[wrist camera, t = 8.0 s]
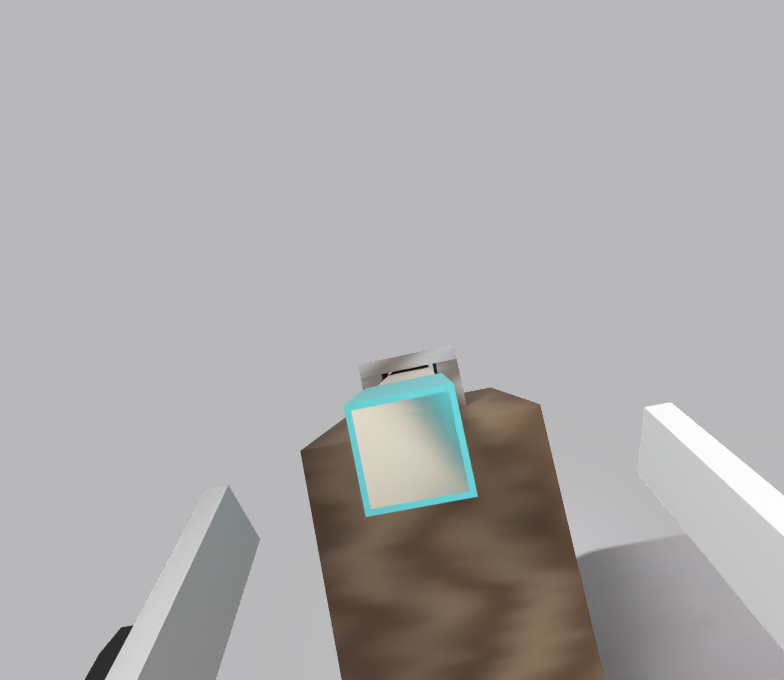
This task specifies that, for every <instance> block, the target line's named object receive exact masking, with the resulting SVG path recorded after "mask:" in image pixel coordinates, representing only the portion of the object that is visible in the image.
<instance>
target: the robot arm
mask: <svg viewBox="0 0 784 680" xmlns="http://www.w3.org/2000/svg"><path fill="white" fill-rule="evenodd" d="M637 474H638V475H639V477H640V478H641V479H642V480H643V481H644V483H645V484H646V485H647V486H648V487H649V489H650V490H651V491H652V492H653V493H654V495H655V496H656V497H657V498H658V499H659V501H660V502H661V503H662V504H663V506H664V507H665V508H666V509H667V510H668V512H669V513H670V514H671V515H672V516H673V518H674V519H675V520H676V521H677V522H678V524H679V525H680V526H681V527H682V529H683V530H684V531H685V532H686V533H687V535H688V536H689V537H690V538H691V539H692V541H693V542H694V543H695V544H696V546H697V547H698V548H699V549H700V550H701V552H702V553H703V554H704V555H705V556H706V558H707V559H708V560H709V561H710V562H711V564H712V565H713V566H714V567H715V569H716V570H717V571H718V572H719V573H720V575H721V576H722V577H723V578H724V579H725V581H726V582H727V583H728V584H729V585H730V587H731V588H732V589H733V590H734V592H735V593H736V594H737V595H738V596H739V598H740V599H741V600H742V601H743V602H744V604H745V605H746V606H747V607H748V608H749V610H750V611H751V612H752V613H753V614H754V616H755V617H756V618H757V619H758V621H759V622H760V623H761V624H762V625H763V627H764V628H765V629H766V630H767V631H768V633H769V634H770V635H771V636H772V637H773V639H774V640H775V641H776V642H777V644H778V645H779V646H780V647H781V648H782V650H783V651H784V496H783V495H782V494H781V493H780V492H779V491H778V490H776V489H775V488H774V487H773V486H772V485H770V484H769V483H768V482H766V481H765V480H764V479H763V478H762V477H761V476H759V475H758V474H757V473H756V472H754V471H753V470H752V469H751V468H750V467H748V466H747V465H746V464H745V463H744V462H742V461H741V460H740V459H739V458H738V457H736V456H735V455H734V454H733V453H732V452H730V451H729V450H728V449H727V448H725V447H724V446H723V445H722V444H721V443H719V442H718V441H717V440H716V439H714V438H713V437H712V436H711V435H710V434H708V433H707V432H706V431H705V430H704V429H702V428H701V427H700V426H699V425H698V424H696V423H695V422H694V421H693V420H692V419H690V418H689V417H688V416H687V415H685V414H684V413H683V412H682V411H681V410H679V409H678V408H677V407H676V406H675V405H673V404H672V403H671V402H670V403H665V404H659V405H654V406H649V407H645V408H644V415H643V425H642V432H641V441H640V449H639V458H638V466H637ZM259 541H260V538H259V536H258V535H257V533H256V532H255V530H254V528H253V526H252V525H251V523H250V521H249V519H248V518H247V516H246V514H245V513H244V511H243V509H242V507H241V506H240V504H239V502H238V501H237V499H236V497H235V496H234V494H233V492H232V490H231V489H230V487H229V485H226V486H220V487H215V488H210V489H206V490H205V492H204V494H203V496H202V498H201V500H200V501H199V503H198V505H197V507H196V509H195V511H194V513H193V515H192V516H191V518H190V520H189V522H188V524H187V526H186V528H185V530H184V531H183V533H182V535H181V537H180V539H179V541H178V543H177V545H176V547H175V548H174V550H173V552H172V554H171V556H170V558H169V560H168V562H167V564H166V565H165V567H164V570H163V571H162V573H161V575H160V577H159V579H158V580H157V582H156V584H155V586H154V588H153V590H152V592H151V594H150V596H149V597H148V599H147V601H146V603H145V605H144V607H143V609H142V611H141V613H140V614H139V616H138V618H137V620H136V622H135V624H134V625H133V626H127V627H122V628H120V630H119V631H118V632H117V633H116V634H115V636H114V637H113V638H112V639H111V641H110V642H109V643H108V644H107V645H106V647H105V648H104V649H103V650H102V651H101V653H100V654H99V655H98V657H97V659H96V661H95V662H94V664H93V666H92V668H91V669H90V671H89V673H88V675H87V677H86V678H85V680H216V676H217V673H218V670H219V667H220V664H221V661H222V658H223V654H224V651H225V648H226V645H227V642H228V638H229V635H230V632H231V629H232V626H233V623H234V620H235V616H236V613H237V610H238V607H239V604H240V600H241V597H242V594H243V591H244V588H245V585H246V582H247V579H248V576H249V572H250V569H251V566H252V563H253V559H254V556H255V553H256V550H257V547H258V544H259Z"/></svg>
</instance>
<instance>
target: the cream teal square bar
mask: <svg viewBox="0 0 784 680" xmlns="http://www.w3.org/2000/svg"><path fill="white" fill-rule="evenodd" d="M344 411H345V416H346V421H347V426H348V431H349V436H350V441H351V446H352V451H353V456H354V461H355V466H356V471H357V476H358V481H359V486H360V491H361V496H362V501H363V506H364V511H365V516H366V517H368V516H374V515H379V514H385V513H390V512H396V511H401V510H407V509H412V508H418V507H424V506H429V505H435V504H440V503H446V502H451V501H457V500H462V499H468V498H473V497H478V495H477V490H476V486H475V481H474V476H473V471H472V467H471V462H470V457H469V453H468V448H467V443H466V439H465V434H464V429H463V425H462V420H461V415H460V410H459V406H458V401H457V396H456V392H455V387H454V383H453V382H452V381H450V380H449V379H448V378H447V377H446V376H445V375H444V374H442V373H439V374H434V373H433V371H432V370H431V369H430V368H429V366H428V365H423V366H418V367H414V368H409V369H404V370H399V371H394V372H392V373H391V374H390V375H389V376H388V377H387V378H385V379H384V380H383V381H382V382H381V383H380V384H379V385H378V386H374V387H370V388H366V389H364V390H363V391H362V392H360V393H359V394H358V395H357V396H355V397H354V398H353V399H351V400H350V401H349V402H347V403H346V404H345V405H344Z"/></svg>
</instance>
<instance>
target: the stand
mask: <svg viewBox="0 0 784 680" xmlns="http://www.w3.org/2000/svg"><path fill="white" fill-rule="evenodd" d="M428 364H433V368H434V373H435V374H439V373H442V374H444V375H445V376H446V377H447V378H448V379H449V380H450V381H452V382H453V383H454V387H455V392H456V396H457V401H458V406H459V410H460V415H461V420H462V425H463V429H464V434H465V439H466V443H467V448H468V453H469V457H470V462H471V467H472V471H473V476H474V481H475V486H476V490H477V495H478V497H473V498H468V499H462V500H457V501H451V502H446V503H440V504H435V505H429V506H424V507H418V508H412V509H407V510H401V511H396V512H390V513H385V514H379V515H374V516H368V517H366V516H365V511H364V506H363V501H362V496H361V491H360V486H359V481H358V476H357V471H356V466H355V461H354V456H353V451H352V446H351V441H350V436H349V431H348V426H347V421H346V417H345V418H344V419H343V420H341V421H340V422H339V423H337V424H336V425H335V426H333V427H332V428H331V429H329V430H328V431H327V432H326V433H324V434H323V435H321V436H320V437H319V438H317V439H316V440H314V441H313V442H312V443H310V444H309V445H308V446H306V447H305V448H304V449H302V450H301V456H302V462H303V468H304V473H305V479H306V484H307V490H308V496H309V501H310V507H311V512H312V518H313V523H314V529H315V534H316V539H317V545H318V551H319V556H320V562H321V567H322V573H323V579H324V584H325V590H326V595H327V600H328V606H329V611H330V617H331V623H332V628H333V634H334V639H335V645H336V650H337V656H338V662H339V667H340V672H341V678H342V680H604V676H603V671H602V667H601V663H600V659H599V654H598V650H597V646H596V642H595V637H594V633H593V629H592V624H591V620H590V616H589V612H588V607H587V603H586V599H585V595H584V590H583V586H582V582H581V577H580V573H579V569H578V565H577V560H576V556H575V552H574V547H573V543H572V539H571V535H570V531H569V526H568V522H567V518H566V513H565V509H564V505H563V501H562V496H561V492H560V488H559V484H558V479H557V475H556V471H555V466H554V462H553V458H552V453H551V449H550V445H549V441H548V436H547V432H546V428H545V424H544V419H543V415H542V411H541V406H540V404H537V403H534V402H531V401H529V400H526V399H522V398H520V397H517V396H514V395H510V394H508V393H505V392H502V391H499V390H496V389H493V388H487V389H481V390H476V391H471V392H466V393H464V392H463V387H462V382H461V378H460V373H459V369H458V364H457V359H456V355H455V350H454V346H453V345H451V346H447V347H441V348H437V349H432V350H427V351H422V352H417V353H412V354H408V355H403V356H398V357H393V358H388V359H383V360H379V361H374V362H369V363H364V364H359V365H358V366H359V371H360V376H361V381H362V386H363V390H364V389H366V388H370V387H374V386H378V385H379V384H380V383H381V382H382V381H383V380H384V379H385V378H387V377H388V376H389V375H388V373H389V372H394V371H399V370H404V369H409V368H414V367H418V366H423V365H428Z"/></svg>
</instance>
